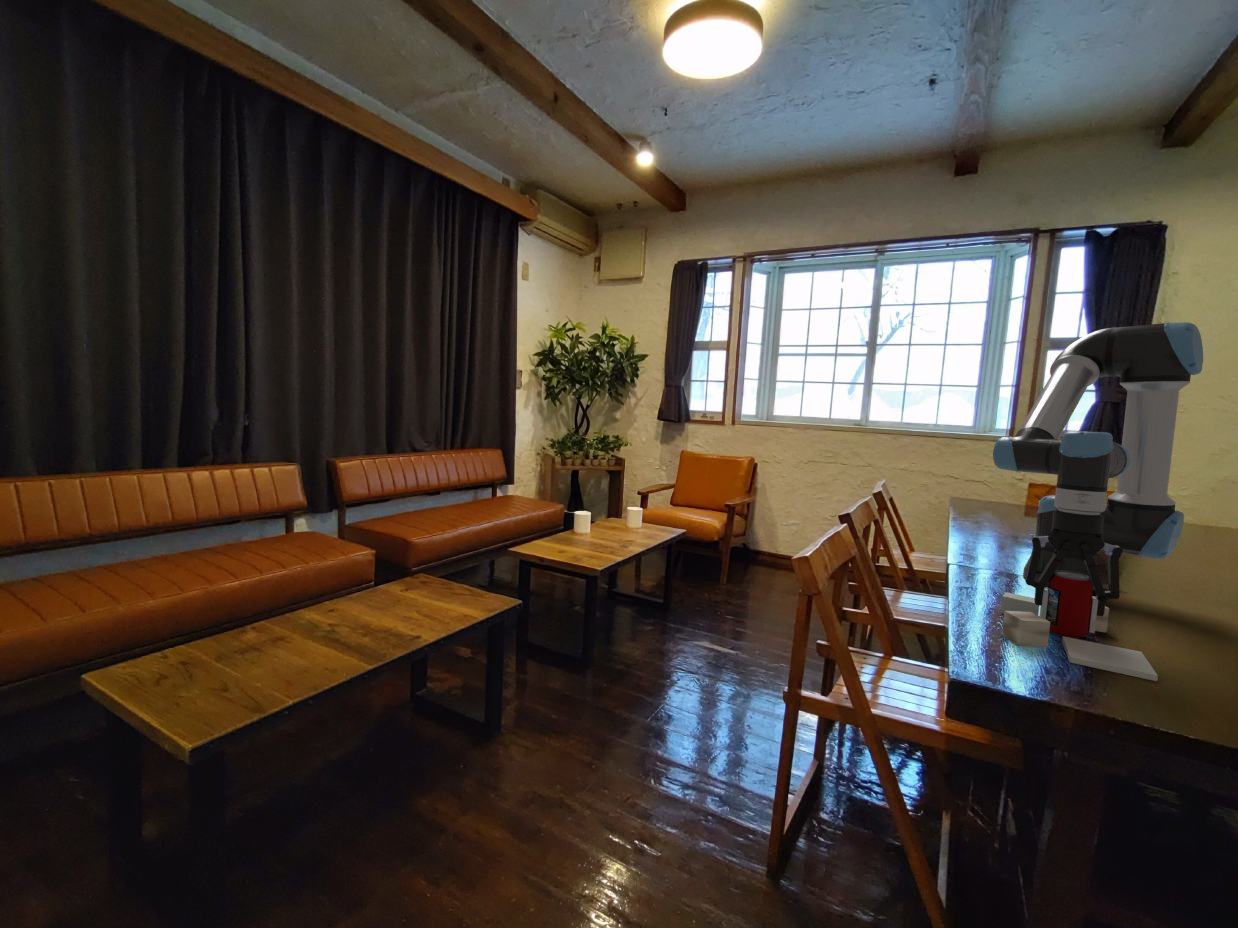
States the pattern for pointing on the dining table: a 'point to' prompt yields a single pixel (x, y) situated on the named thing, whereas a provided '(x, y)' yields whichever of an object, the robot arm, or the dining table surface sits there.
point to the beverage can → (1069, 603)
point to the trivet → (1108, 658)
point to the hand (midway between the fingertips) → (1065, 625)
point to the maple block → (1026, 629)
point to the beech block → (1102, 621)
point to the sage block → (1018, 603)
